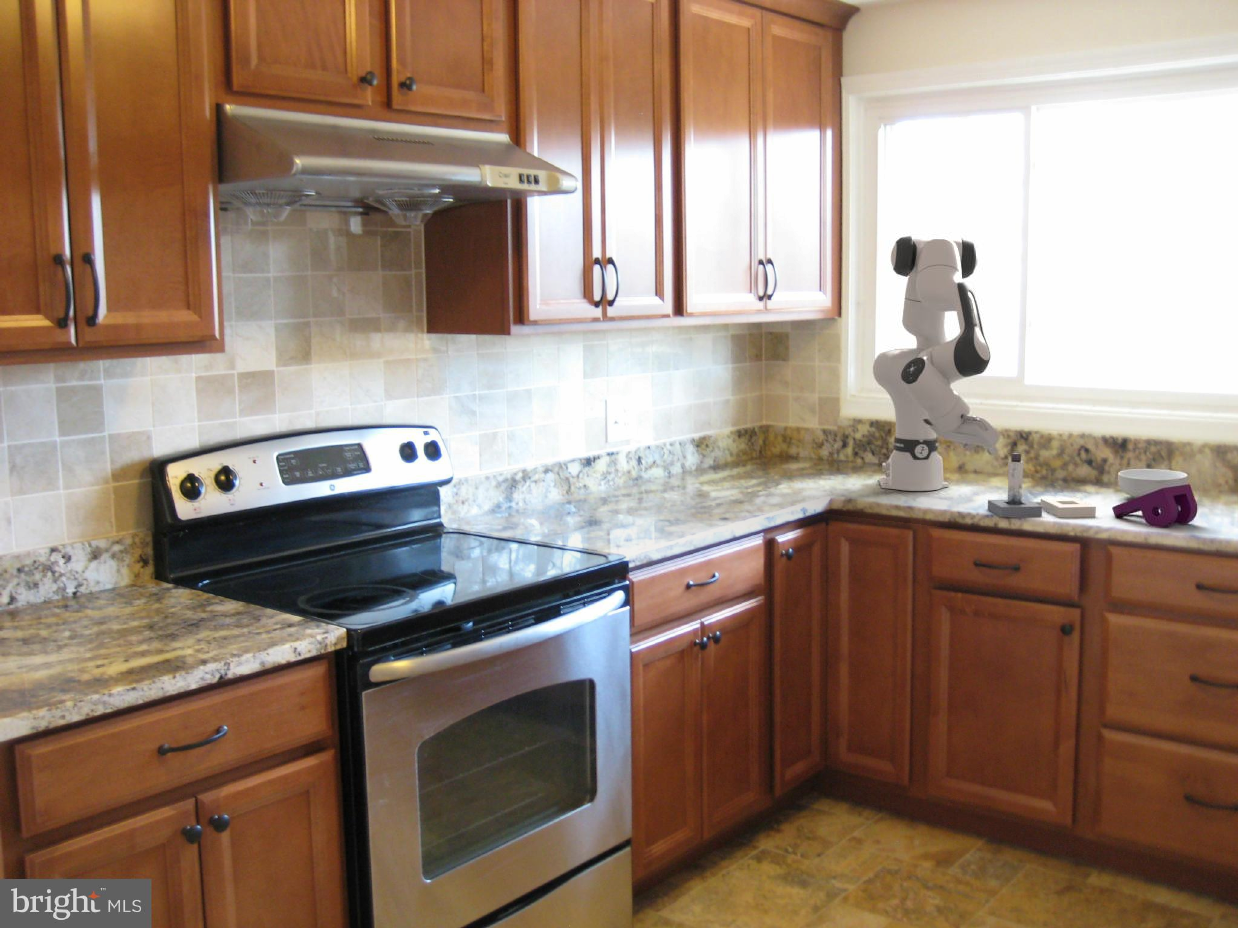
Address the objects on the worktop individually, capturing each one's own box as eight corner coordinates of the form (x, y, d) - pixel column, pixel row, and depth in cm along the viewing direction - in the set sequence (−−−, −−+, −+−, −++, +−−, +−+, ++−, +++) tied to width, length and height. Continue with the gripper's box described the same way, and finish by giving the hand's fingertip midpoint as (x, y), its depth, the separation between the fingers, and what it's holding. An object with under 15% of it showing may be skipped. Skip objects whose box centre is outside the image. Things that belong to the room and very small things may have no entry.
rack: (1040, 508, 306) (1040, 498, 306) (1075, 507, 307) (1075, 497, 306) (1059, 517, 294) (1059, 507, 294) (1095, 516, 295) (1095, 506, 294)
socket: (987, 509, 306) (987, 499, 305) (1026, 508, 306) (1026, 499, 306) (1001, 517, 296) (1001, 507, 296) (1041, 516, 296) (1042, 506, 296)
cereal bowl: (1121, 492, 327) (1123, 466, 326) (1189, 497, 318) (1190, 470, 317) (1112, 503, 312) (1113, 476, 311) (1183, 508, 304) (1184, 480, 303)
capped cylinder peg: (1005, 511, 303) (1007, 452, 300) (1018, 511, 303) (1020, 452, 300) (1009, 514, 299) (1012, 454, 297) (1023, 514, 299) (1025, 454, 297)
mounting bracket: (1114, 543, 293) (1175, 522, 278) (1103, 510, 295) (1162, 487, 280) (1141, 538, 297) (1202, 518, 282) (1130, 505, 299) (1189, 484, 284)
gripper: (986, 407, 281) (1018, 446, 286) (932, 400, 299) (963, 436, 304) (969, 427, 280) (1002, 466, 285) (916, 419, 298) (948, 455, 303)
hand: (982, 451), depth 295 cm, fingers open, 8 cm apart
